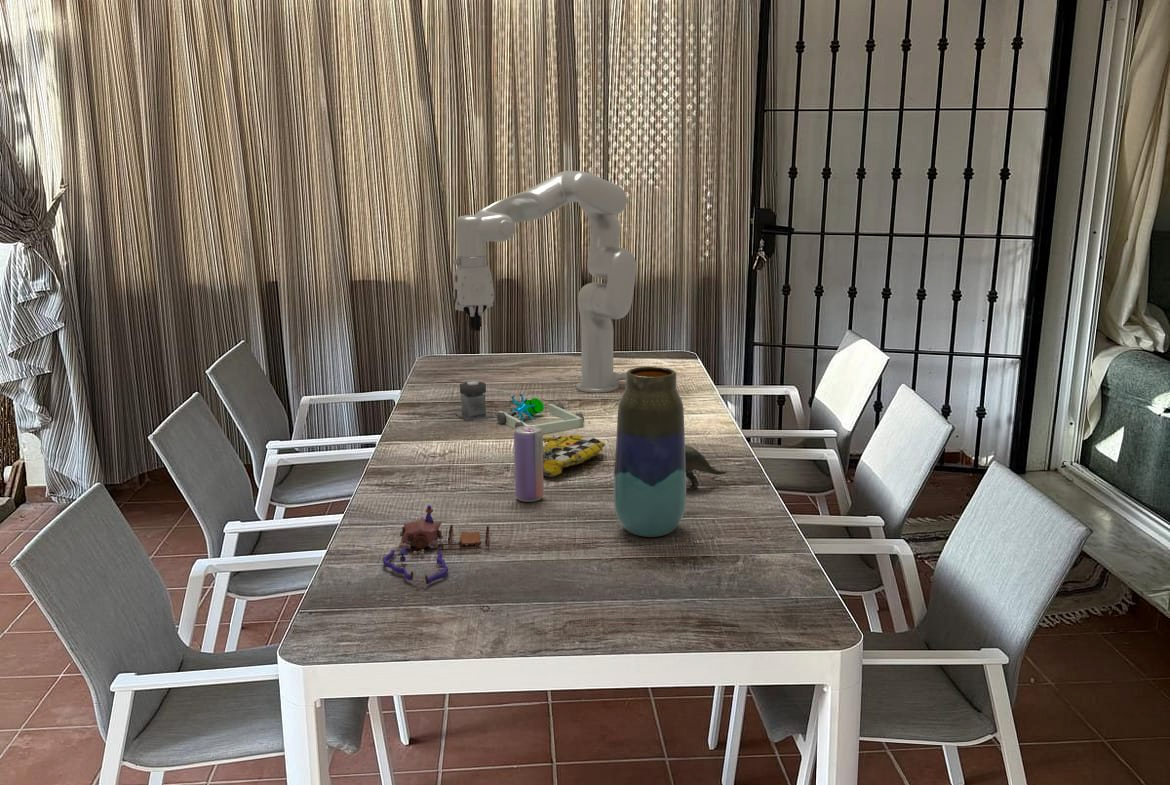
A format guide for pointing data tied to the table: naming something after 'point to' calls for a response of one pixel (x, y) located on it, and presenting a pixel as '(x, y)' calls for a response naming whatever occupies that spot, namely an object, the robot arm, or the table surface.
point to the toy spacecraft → (568, 452)
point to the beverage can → (528, 463)
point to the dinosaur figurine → (697, 465)
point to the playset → (429, 544)
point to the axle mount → (473, 408)
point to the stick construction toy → (527, 407)
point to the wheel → (472, 388)
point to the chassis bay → (568, 423)
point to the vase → (650, 453)
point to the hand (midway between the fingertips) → (475, 330)
